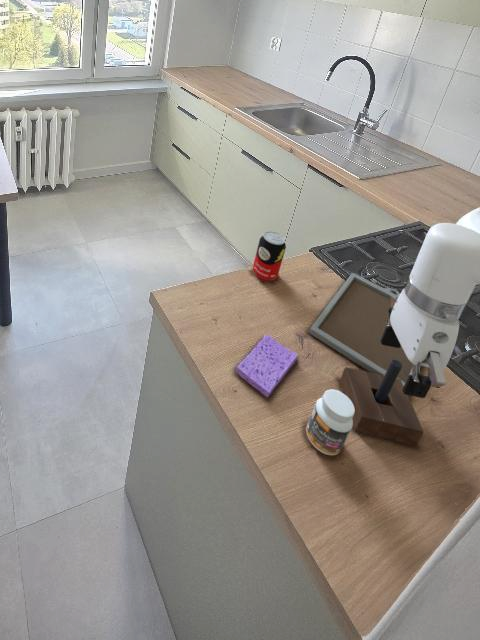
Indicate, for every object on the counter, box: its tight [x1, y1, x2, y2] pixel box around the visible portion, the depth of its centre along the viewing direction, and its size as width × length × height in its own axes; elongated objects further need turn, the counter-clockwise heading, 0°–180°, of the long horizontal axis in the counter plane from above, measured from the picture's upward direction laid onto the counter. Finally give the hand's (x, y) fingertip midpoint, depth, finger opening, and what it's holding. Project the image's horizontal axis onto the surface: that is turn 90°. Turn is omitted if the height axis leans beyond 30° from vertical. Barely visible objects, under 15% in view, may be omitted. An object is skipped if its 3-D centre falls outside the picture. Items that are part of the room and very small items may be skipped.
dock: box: [339, 366, 425, 446], centre depth 78 cm, size 10×10×4 cm
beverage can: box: [252, 231, 287, 281], centre depth 108 cm, size 6×6×12 cm
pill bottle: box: [305, 389, 355, 456], centre depth 71 cm, size 6×6×10 cm
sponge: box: [235, 333, 299, 398], centre depth 85 cm, size 7×13×2 cm, turn 132°
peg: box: [374, 360, 402, 404], centre depth 76 cm, size 2×2×13 cm
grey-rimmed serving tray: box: [308, 272, 424, 386], centre depth 97 cm, size 19×2×30 cm
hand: (400, 368), depth 74 cm, fingers open, 9 cm apart
